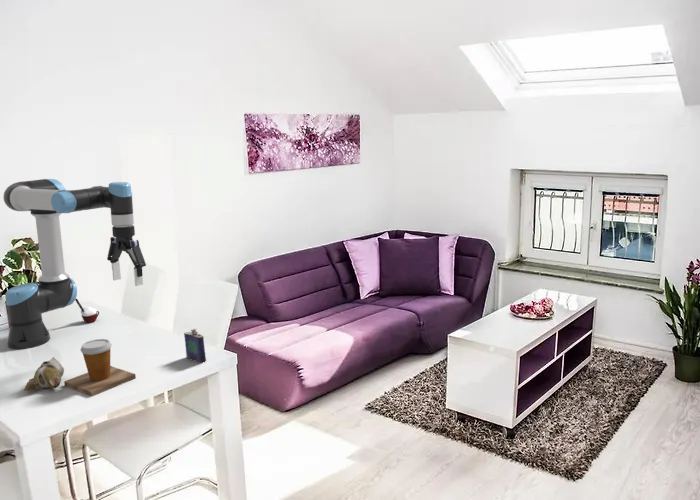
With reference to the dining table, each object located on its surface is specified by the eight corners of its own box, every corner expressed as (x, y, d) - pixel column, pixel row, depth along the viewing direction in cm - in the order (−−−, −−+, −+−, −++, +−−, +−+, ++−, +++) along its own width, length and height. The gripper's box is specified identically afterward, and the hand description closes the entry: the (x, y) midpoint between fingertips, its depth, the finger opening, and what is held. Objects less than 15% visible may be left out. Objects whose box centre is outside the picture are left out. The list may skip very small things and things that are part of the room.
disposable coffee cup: (104, 384, 194) (99, 349, 192) (78, 382, 196) (73, 348, 194) (121, 372, 203) (116, 338, 201) (96, 371, 205) (91, 338, 203)
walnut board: (64, 385, 198) (64, 381, 198) (108, 368, 211) (107, 364, 211) (92, 396, 189) (91, 391, 189) (135, 378, 202) (135, 374, 201)
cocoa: (99, 318, 272) (95, 292, 269) (102, 321, 266) (98, 295, 264) (76, 322, 267) (72, 296, 264) (78, 325, 261) (75, 299, 259)
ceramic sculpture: (69, 351, 205) (53, 370, 190) (73, 374, 207) (57, 395, 193) (36, 354, 204) (18, 374, 189) (41, 377, 206) (23, 398, 192)
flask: (184, 357, 218) (181, 327, 216) (192, 355, 221) (189, 325, 218) (201, 363, 212) (198, 332, 210) (208, 361, 214) (206, 330, 212)
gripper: (153, 227, 212) (157, 285, 216) (112, 220, 226) (117, 275, 230) (134, 230, 206) (139, 289, 210) (94, 223, 220) (99, 279, 224)
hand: (127, 282), depth 220 cm, fingers open, 13 cm apart
